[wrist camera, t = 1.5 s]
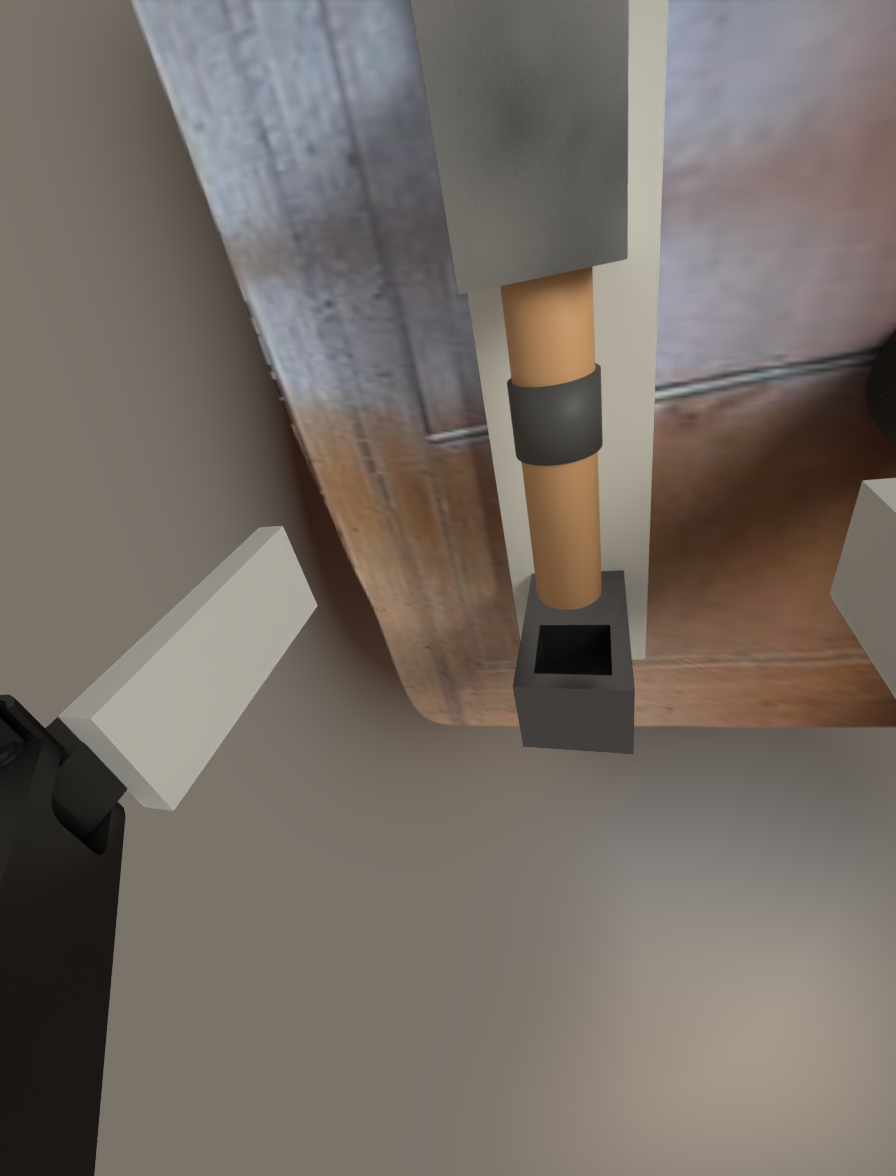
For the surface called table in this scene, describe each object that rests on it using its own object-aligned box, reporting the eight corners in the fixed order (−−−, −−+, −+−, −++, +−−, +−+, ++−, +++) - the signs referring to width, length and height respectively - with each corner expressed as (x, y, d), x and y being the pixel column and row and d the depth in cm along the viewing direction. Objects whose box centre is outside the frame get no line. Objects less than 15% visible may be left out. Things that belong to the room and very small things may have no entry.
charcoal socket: (531, 573, 34) (513, 686, 26) (623, 570, 32) (634, 690, 24) (538, 628, 37) (523, 746, 29) (623, 628, 35) (633, 753, 27)
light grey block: (467, -29, 19) (372, -214, 11) (612, -90, 17) (631, -361, 9) (502, 268, 24) (456, 296, 16) (614, 242, 22) (628, 259, 14)
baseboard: (422, -49, 20) (411, -65, 18) (669, -157, 17) (675, -185, 16) (525, 644, 40) (522, 657, 39) (643, 645, 37) (645, 659, 36)
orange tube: (465, -32, 15) (436, -89, 12) (589, -84, 14) (589, -159, 11) (536, 571, 27) (529, 612, 24) (605, 569, 26) (606, 612, 23)
